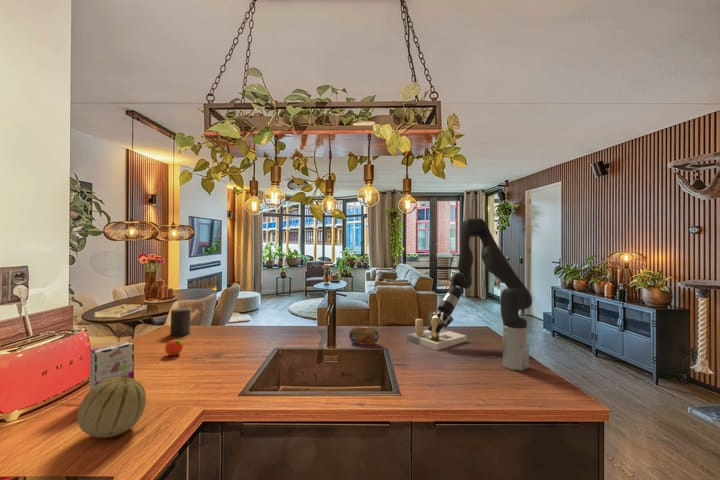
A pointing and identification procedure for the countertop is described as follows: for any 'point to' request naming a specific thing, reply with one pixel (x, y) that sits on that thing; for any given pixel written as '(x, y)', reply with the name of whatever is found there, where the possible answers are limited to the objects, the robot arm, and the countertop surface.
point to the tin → (364, 335)
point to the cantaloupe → (112, 407)
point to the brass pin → (434, 328)
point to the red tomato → (173, 347)
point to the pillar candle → (180, 321)
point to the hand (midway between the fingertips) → (432, 330)
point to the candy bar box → (111, 362)
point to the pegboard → (425, 339)
